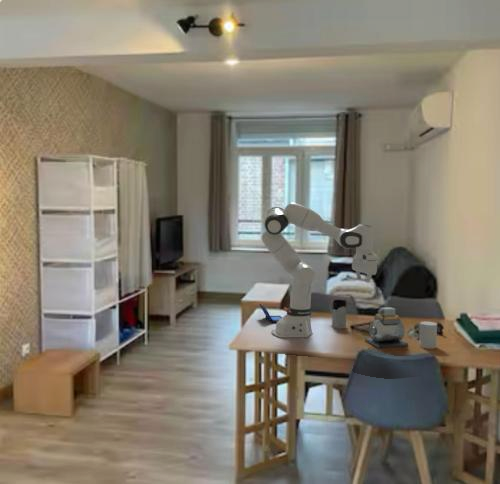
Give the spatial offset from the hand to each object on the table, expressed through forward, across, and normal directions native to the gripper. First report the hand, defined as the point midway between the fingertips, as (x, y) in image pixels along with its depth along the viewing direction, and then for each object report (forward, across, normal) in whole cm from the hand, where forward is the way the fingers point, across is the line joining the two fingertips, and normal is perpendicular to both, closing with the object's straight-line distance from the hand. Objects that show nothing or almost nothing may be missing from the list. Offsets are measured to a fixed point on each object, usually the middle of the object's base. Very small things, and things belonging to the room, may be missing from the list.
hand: (363, 280), depth 291 cm
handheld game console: (+32, -49, -32) cm, 67 cm away
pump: (+18, +12, +8) cm, 23 cm away
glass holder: (+31, -29, 0) cm, 43 cm away
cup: (+31, +22, +26) cm, 46 cm away
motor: (+31, +12, +8) cm, 34 cm away
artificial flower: (+32, +4, +38) cm, 49 cm away
